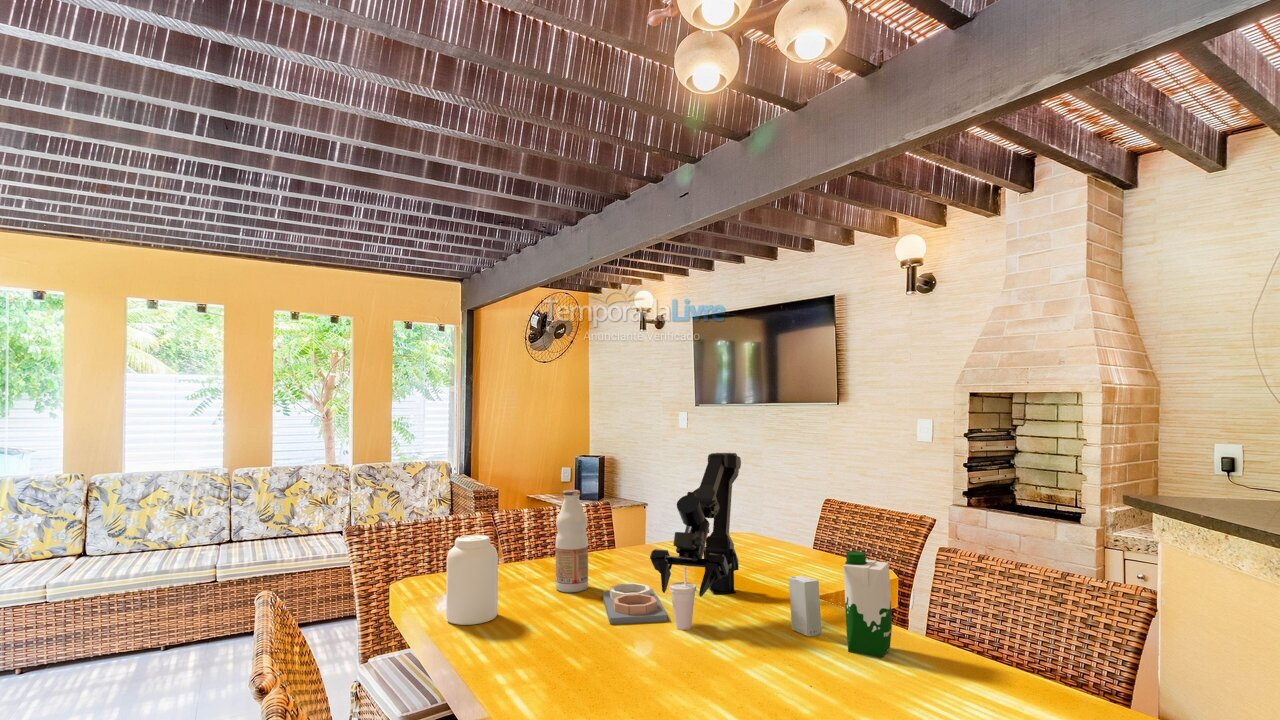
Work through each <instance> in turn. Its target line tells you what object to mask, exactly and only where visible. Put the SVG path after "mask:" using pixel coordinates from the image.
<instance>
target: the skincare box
mask: <svg viewBox="0 0 1280 720" xmlns="http://www.w3.org/2000/svg"><path fill="white" fill-rule="evenodd" d="M819 583H820V582H819V580H818V579H815V578H813V577H808V576H804V575H796V576H795V575H794V576H789V577H788V588H789V604H790V606H789V607H790V621H791V630H793V631H795V632H796V633H799V634H801V635H804V636H806V637H817V636H820V635H822V633H823V631H822V615H821V600H820V598H821V597H820V585H819Z"/></svg>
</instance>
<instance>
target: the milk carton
mask: <svg viewBox="0 0 1280 720" xmlns="http://www.w3.org/2000/svg"><path fill="white" fill-rule="evenodd" d="M845 555H846V556H845V557H846V561H845V563H844V564H843V566H842V567H843V568H842V569H843V580H844V581H843V582H844V603H845V604H844V605H845V627H846V628H845V629H846V640H847V652H849V653H855V654H859V655H863V656H870V657H875V658H882V659H883V658H884V657H885V655H886V654H887V653H888V651H889V650H890V648H891V639H892V630H893V629H892V628H893V625H892V623H893V620H892V619H893V618H892V597H891V596H892V593H891V578H890V577H891V576H890V569H889V568H890V567H889V566H890V565H889V562H885V561H877V560H875V559H874V560H873V559H867V554H866V552H863V551H860V550H849V551H846V554H845Z"/></svg>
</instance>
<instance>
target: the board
mask: <svg viewBox="0 0 1280 720" xmlns="http://www.w3.org/2000/svg"><path fill="white" fill-rule="evenodd" d="M601 594H602V595H601V598H602V600H603V605H604V608H605V611H606V615H607V618H608V623H609V625H622V624H623V625H624V624H641V623H642V624H643V623H645V624H646V623H660V622H661V623H663V622H668V614H667V612H666V610H665V609H664V607H663V605H662V604H661V601H660V600H659V598H658V596H657V595H656V593H655V591H654V589H653V588H650V586H649V585H647V584H644V583H643V584H642V583H635V582H630V583H629V582H628V583H617V584H615V585H612V586H610V587H609V590H602V591H601Z"/></svg>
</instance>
